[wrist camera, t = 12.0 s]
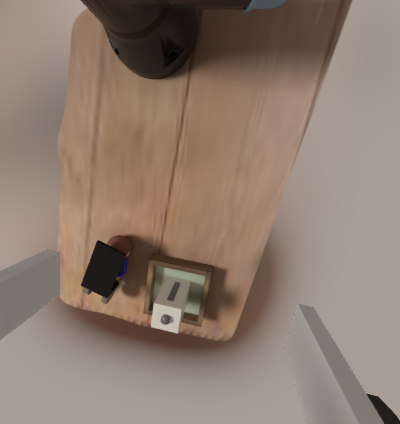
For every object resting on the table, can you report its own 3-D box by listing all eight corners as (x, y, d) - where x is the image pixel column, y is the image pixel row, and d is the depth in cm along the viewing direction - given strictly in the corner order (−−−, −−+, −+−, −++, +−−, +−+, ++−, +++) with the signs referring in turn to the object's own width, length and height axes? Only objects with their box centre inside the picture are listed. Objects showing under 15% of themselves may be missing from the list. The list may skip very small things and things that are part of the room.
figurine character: (123, 288, 50) (142, 240, 44) (103, 312, 43) (123, 258, 37) (98, 276, 50) (115, 226, 45) (75, 298, 43) (91, 241, 37)
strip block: (168, 276, 44) (152, 305, 35) (190, 280, 44) (180, 311, 35) (165, 296, 46) (149, 329, 36) (187, 301, 45) (176, 336, 36)
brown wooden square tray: (154, 253, 45) (149, 259, 42) (212, 265, 44) (211, 272, 41) (148, 304, 48) (143, 313, 45) (202, 316, 47) (201, 326, 44)
